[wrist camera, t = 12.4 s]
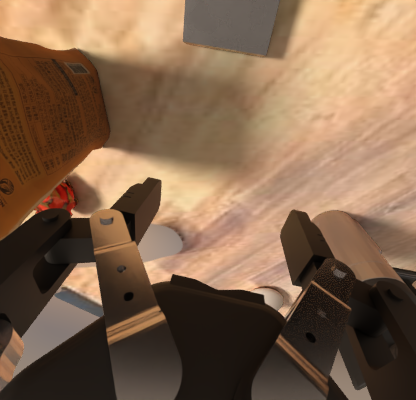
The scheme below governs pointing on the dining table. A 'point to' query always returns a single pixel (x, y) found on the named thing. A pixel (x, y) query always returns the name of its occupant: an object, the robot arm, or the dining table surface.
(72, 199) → the dragon fruit
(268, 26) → the grey block with hole
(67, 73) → the pancake mix bag
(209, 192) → the dining table surface
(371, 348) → the robot arm
